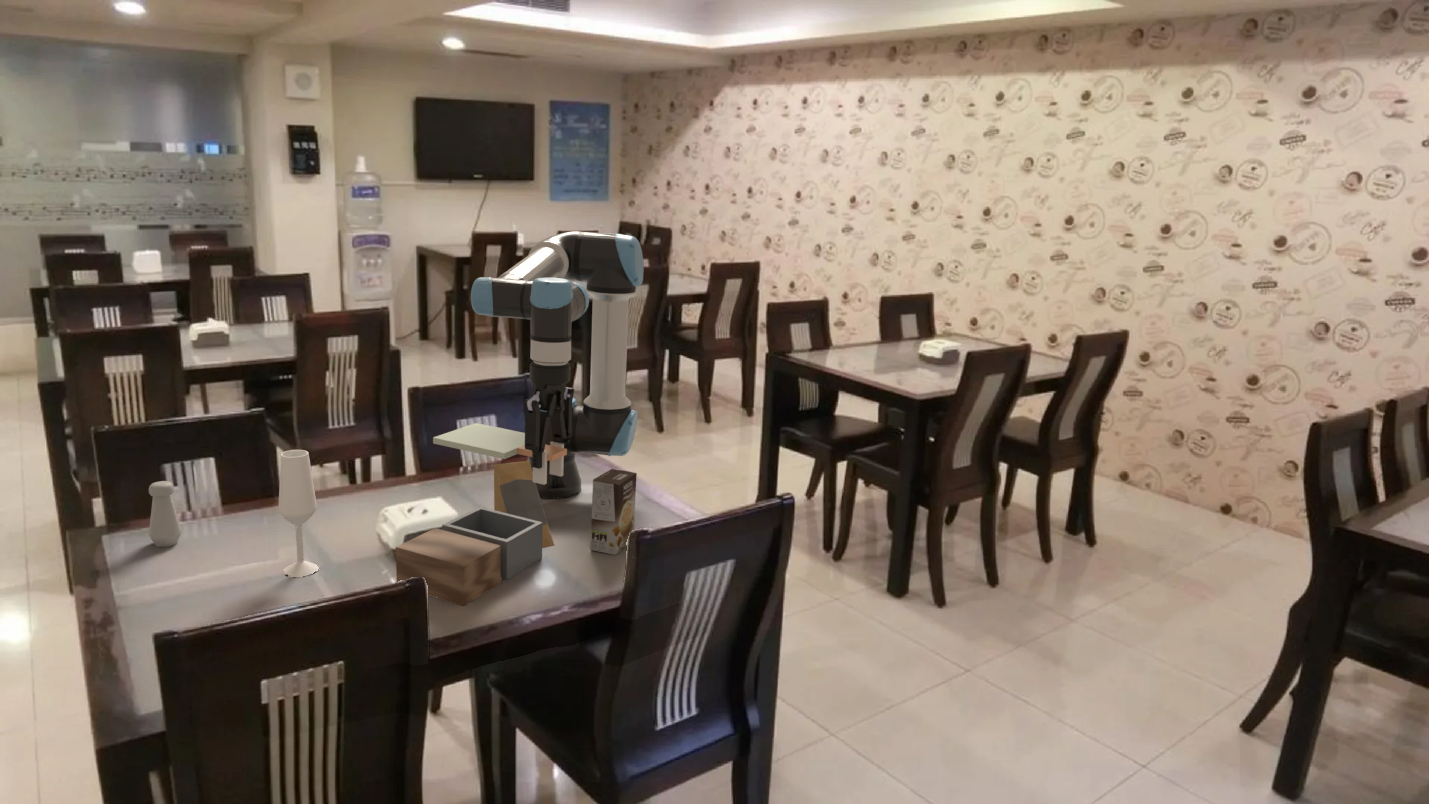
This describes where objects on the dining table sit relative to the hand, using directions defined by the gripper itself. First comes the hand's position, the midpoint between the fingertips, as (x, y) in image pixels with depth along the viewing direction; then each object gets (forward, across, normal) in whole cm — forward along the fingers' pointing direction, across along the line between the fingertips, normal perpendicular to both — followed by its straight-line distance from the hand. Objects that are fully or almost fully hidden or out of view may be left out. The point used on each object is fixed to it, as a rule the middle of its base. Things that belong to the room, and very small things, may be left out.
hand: (548, 478), depth 177 cm
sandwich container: (+21, -15, -16) cm, 30 cm away
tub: (+21, -1, -14) cm, 25 cm away
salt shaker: (+21, +27, -74) cm, 82 cm away
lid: (-5, 0, -10) cm, 11 cm away
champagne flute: (+21, +22, -42) cm, 52 cm away
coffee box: (+21, -21, +3) cm, 30 cm away
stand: (+21, +12, -14) cm, 28 cm away
